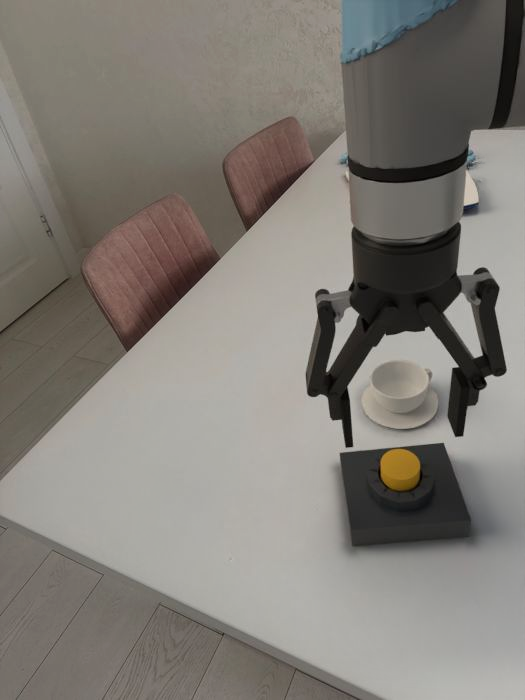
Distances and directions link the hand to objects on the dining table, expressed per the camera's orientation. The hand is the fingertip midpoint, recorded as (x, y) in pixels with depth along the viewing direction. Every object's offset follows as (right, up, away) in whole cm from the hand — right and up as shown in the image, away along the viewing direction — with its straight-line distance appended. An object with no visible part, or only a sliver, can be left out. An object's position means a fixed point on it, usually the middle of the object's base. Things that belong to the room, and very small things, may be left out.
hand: (400, 431), depth 49 cm
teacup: (+5, +1, +19) cm, 19 cm away
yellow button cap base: (+2, -9, +7) cm, 12 cm away
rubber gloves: (+24, +59, +85) cm, 106 cm away
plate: (+24, +42, +65) cm, 81 cm away
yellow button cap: (+1, -5, +4) cm, 7 cm away
